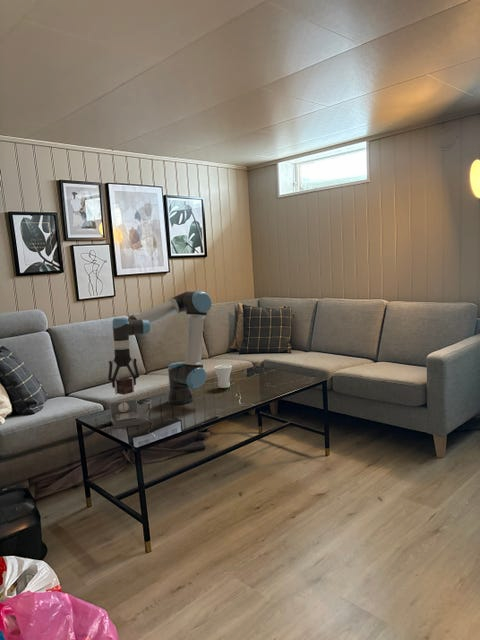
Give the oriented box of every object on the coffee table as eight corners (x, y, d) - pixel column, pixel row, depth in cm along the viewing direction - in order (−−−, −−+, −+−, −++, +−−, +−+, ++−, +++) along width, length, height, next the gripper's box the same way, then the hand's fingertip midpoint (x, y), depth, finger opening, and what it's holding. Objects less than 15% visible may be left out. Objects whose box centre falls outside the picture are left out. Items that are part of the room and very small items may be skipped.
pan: (134, 412, 248) (134, 411, 248) (137, 417, 240) (137, 415, 239) (114, 416, 244) (114, 414, 244) (116, 420, 236) (116, 419, 236)
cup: (213, 389, 302) (211, 368, 301) (219, 385, 313) (217, 364, 311) (229, 390, 299) (228, 368, 297) (235, 386, 309) (234, 364, 308)
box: (133, 392, 242) (132, 378, 241) (123, 395, 237) (122, 380, 237) (125, 391, 246) (124, 377, 245) (116, 393, 241) (115, 379, 240)
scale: (136, 417, 252) (134, 398, 252) (141, 424, 240) (139, 404, 239) (111, 421, 248) (109, 402, 247) (114, 428, 235) (113, 408, 234)
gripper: (140, 345, 247) (143, 388, 249) (99, 349, 239) (102, 393, 241) (143, 347, 240) (146, 391, 242) (101, 351, 232) (104, 397, 234)
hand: (124, 392), depth 241 cm, fingers closed on box, 8 cm apart
